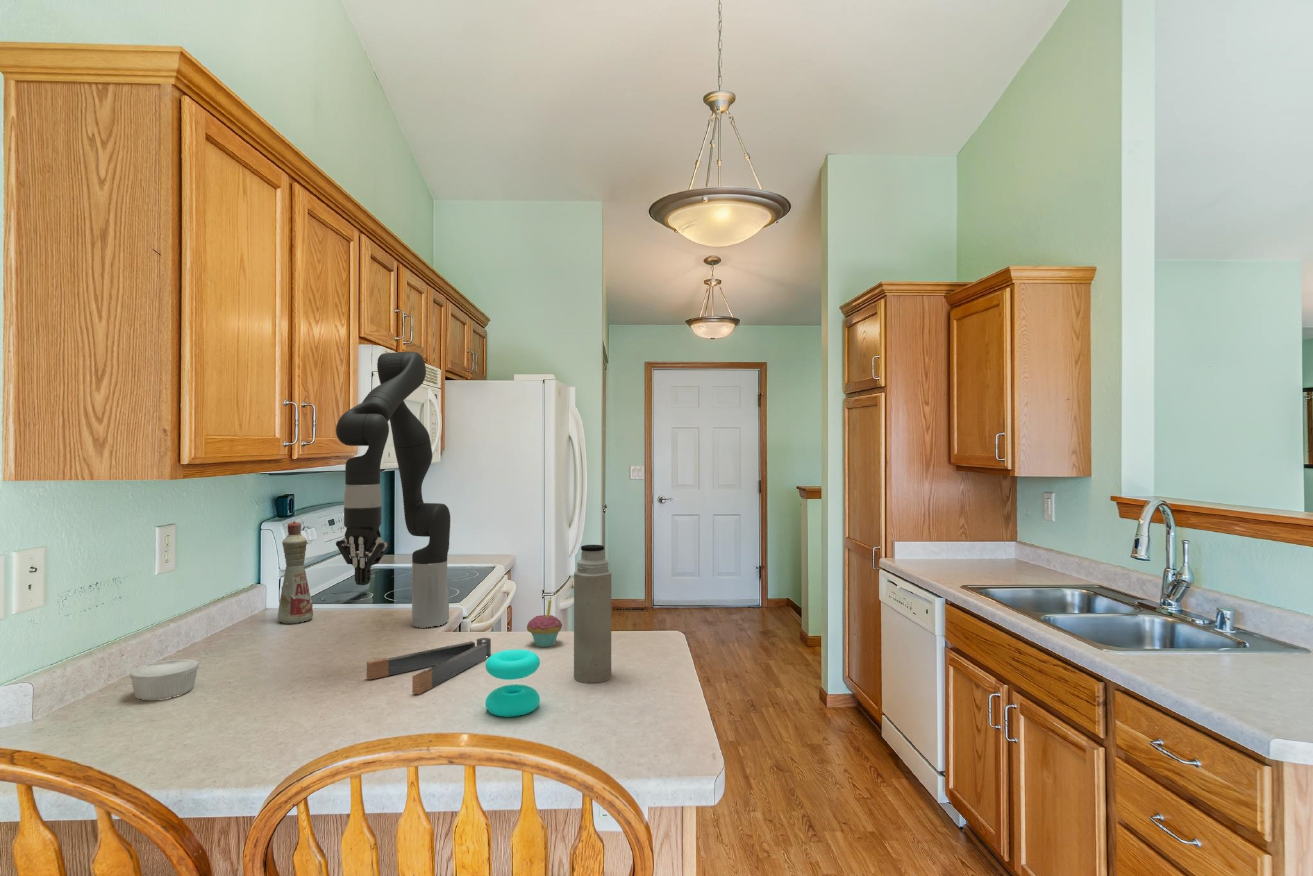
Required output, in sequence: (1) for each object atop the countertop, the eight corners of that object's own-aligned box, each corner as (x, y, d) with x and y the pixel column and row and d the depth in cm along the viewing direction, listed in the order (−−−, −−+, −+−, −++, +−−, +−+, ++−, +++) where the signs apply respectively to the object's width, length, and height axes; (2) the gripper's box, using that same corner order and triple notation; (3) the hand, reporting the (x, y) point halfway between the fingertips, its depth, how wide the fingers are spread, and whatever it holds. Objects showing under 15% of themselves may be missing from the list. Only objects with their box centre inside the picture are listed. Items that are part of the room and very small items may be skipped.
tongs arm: (471, 654, 162) (471, 640, 162) (475, 656, 161) (475, 641, 161) (366, 677, 146) (366, 661, 146) (369, 679, 145) (369, 663, 145)
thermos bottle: (594, 668, 153) (594, 541, 153) (619, 676, 147) (619, 545, 148) (566, 677, 147) (566, 545, 147) (591, 686, 142) (591, 549, 142)
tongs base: (481, 653, 164) (481, 637, 164) (494, 654, 162) (494, 638, 162) (404, 693, 137) (404, 674, 137) (419, 695, 136) (419, 676, 136)
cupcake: (568, 642, 172) (568, 594, 172) (546, 651, 165) (546, 601, 165) (542, 637, 177) (543, 590, 177) (519, 645, 170) (519, 597, 170)
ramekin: (192, 679, 146) (192, 654, 146) (204, 693, 138) (204, 667, 138) (125, 693, 138) (125, 666, 138) (134, 708, 130) (135, 680, 130)
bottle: (290, 616, 198) (290, 519, 199) (319, 617, 198) (320, 519, 198) (270, 624, 190) (270, 522, 190) (301, 625, 189) (301, 523, 189)
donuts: (478, 652, 131) (528, 644, 137) (478, 705, 131) (528, 695, 136) (496, 667, 123) (548, 658, 128) (495, 723, 123) (548, 712, 128)
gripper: (399, 504, 152) (399, 583, 152) (351, 502, 157) (350, 579, 156) (375, 507, 145) (375, 590, 145) (325, 505, 149) (325, 585, 149)
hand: (362, 584), depth 151 cm, fingers closed
